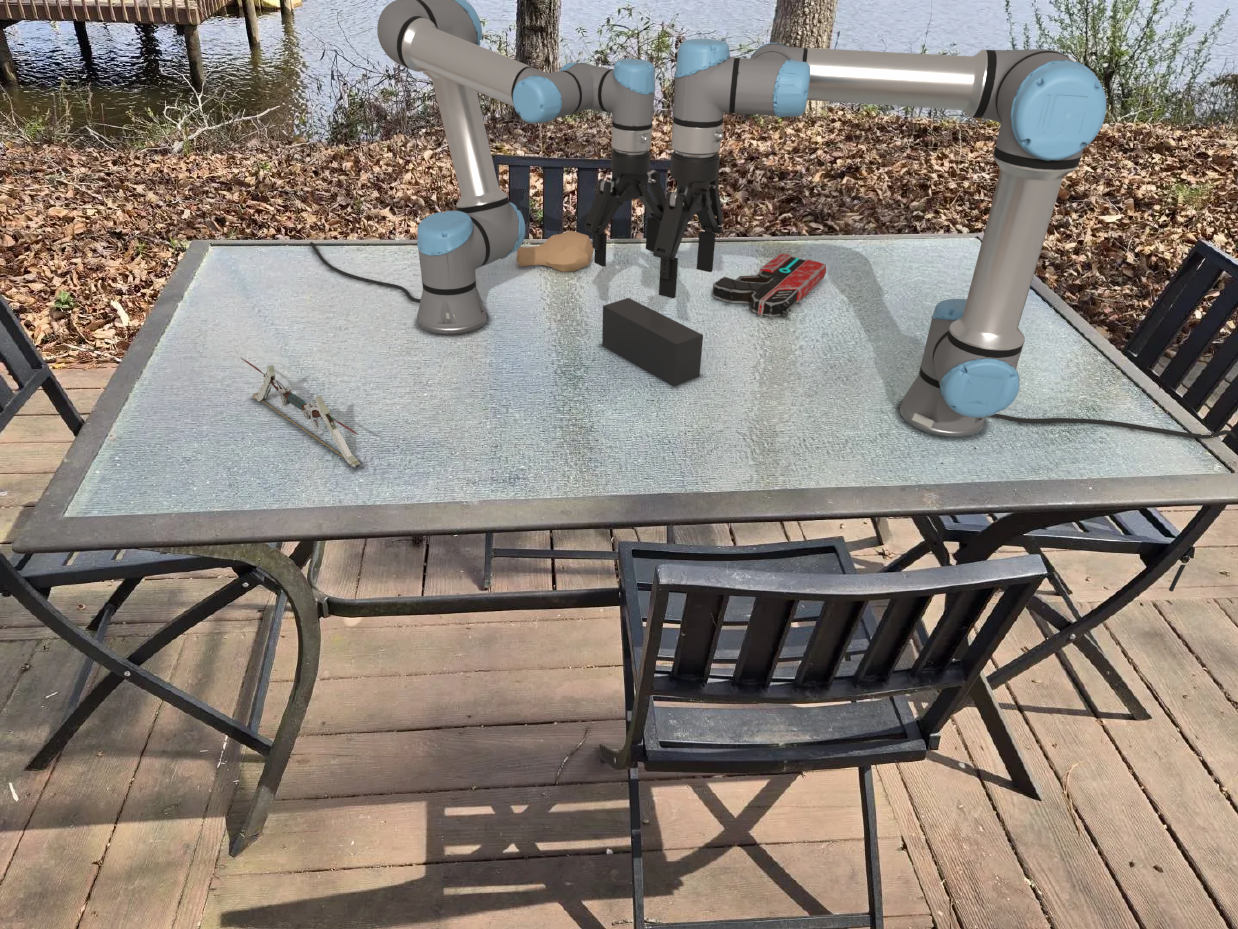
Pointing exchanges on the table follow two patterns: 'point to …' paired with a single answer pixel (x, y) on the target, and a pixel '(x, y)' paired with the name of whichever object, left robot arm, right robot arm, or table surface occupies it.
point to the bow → (305, 411)
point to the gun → (772, 285)
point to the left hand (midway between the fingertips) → (626, 257)
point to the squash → (559, 252)
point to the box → (652, 341)
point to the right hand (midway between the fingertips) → (686, 282)
